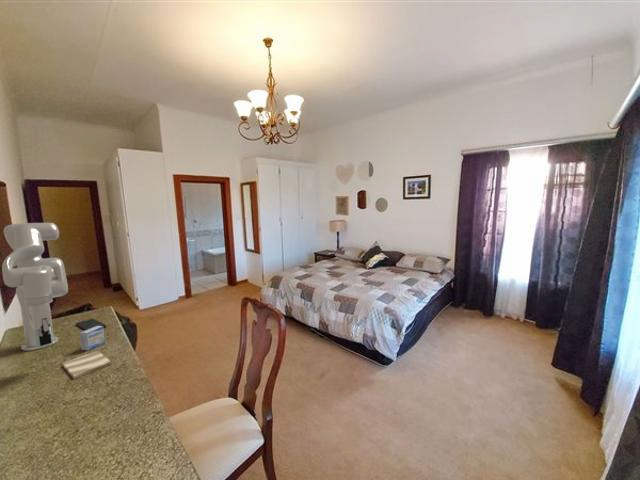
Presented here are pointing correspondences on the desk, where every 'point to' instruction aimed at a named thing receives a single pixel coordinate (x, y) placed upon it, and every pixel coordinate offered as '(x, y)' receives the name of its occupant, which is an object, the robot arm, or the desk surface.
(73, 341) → the desk surface
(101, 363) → the birch board
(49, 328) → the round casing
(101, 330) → the medicine box
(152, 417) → the desk surface
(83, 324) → the smart home device
